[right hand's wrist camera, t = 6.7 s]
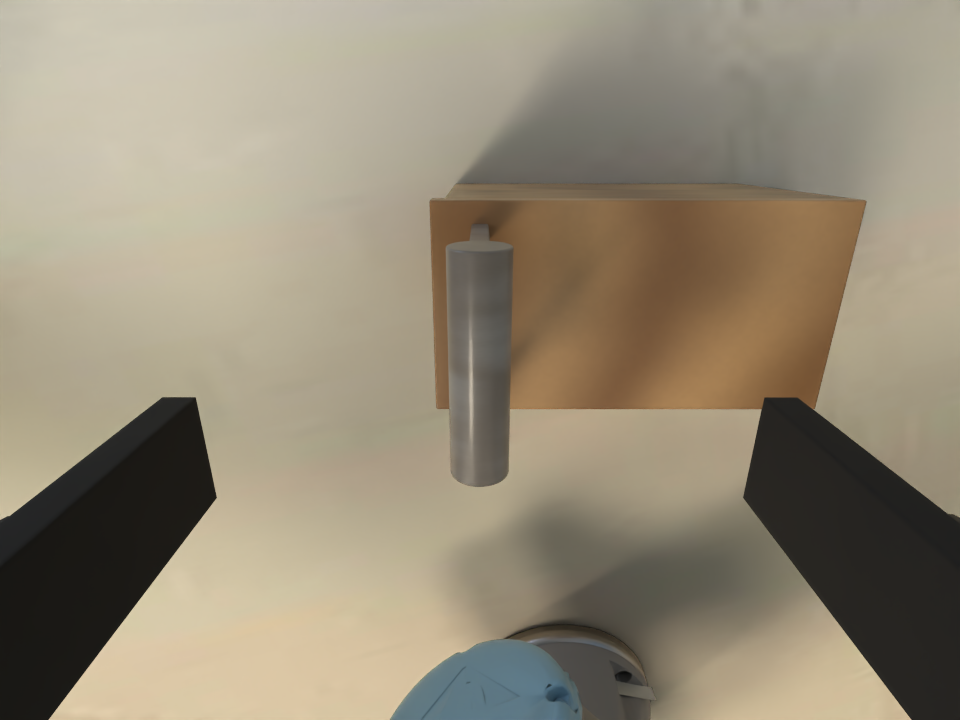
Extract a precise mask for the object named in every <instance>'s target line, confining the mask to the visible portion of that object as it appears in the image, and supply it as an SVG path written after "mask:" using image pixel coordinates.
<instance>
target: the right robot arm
mask: <svg viewBox="0 0 960 720" xmlns="http://www.w3.org/2000/svg"><path fill="white" fill-rule="evenodd" d="M216 498H217V497H216V492H215V487H214V482H213V478H212V473H211V468H210V463H209V459H208V454H207V449H206V444H205V440H204V435H203V430H202V425H201V421H200V416H199V411H198V406H197V402H196V397H162V398H161V399H160V400H158V401H157V402H156V403H155V404H153V405H152V406H151V407H149V408H148V409H147V410H146V411H144V412H143V413H142V414H140V415H139V416H138V417H137V418H135V419H134V420H133V421H131V422H130V423H129V424H128V425H126V426H125V427H124V428H122V429H121V430H120V431H119V432H117V433H116V434H115V435H113V436H112V437H111V438H110V439H108V440H107V441H106V442H104V443H103V444H102V445H101V446H99V447H98V448H97V449H95V450H94V451H93V452H92V453H90V454H89V455H88V456H86V457H85V458H84V459H83V460H81V461H80V462H79V463H77V464H76V465H75V466H74V467H72V468H71V469H70V470H68V471H67V472H66V473H65V474H63V475H62V476H61V477H59V478H58V479H57V480H56V481H54V482H53V483H52V484H50V485H49V486H48V487H47V488H45V489H44V490H43V491H41V492H40V493H39V494H38V495H36V496H35V497H34V498H32V499H31V500H30V501H29V502H27V503H26V504H25V505H23V506H22V507H21V508H20V509H18V510H17V511H16V512H14V513H13V514H12V515H11V516H7V517H5V518H3V519H1V520H0V720H49V718H50V717H51V716H52V714H53V713H54V712H55V710H56V709H57V708H58V706H59V705H60V704H61V702H62V701H63V700H64V699H65V697H66V696H67V695H68V693H69V692H70V691H71V689H72V688H73V687H74V685H75V684H76V683H77V681H78V680H79V679H80V677H81V676H82V675H83V673H84V672H85V671H86V669H87V668H88V667H89V666H90V664H91V663H92V662H93V660H94V659H95V658H96V656H97V655H98V654H99V652H100V651H101V650H102V648H103V647H104V646H105V644H106V643H107V642H108V640H109V639H110V638H111V637H112V635H113V634H114V633H115V631H116V630H117V629H118V627H119V626H120V625H121V623H122V622H123V621H124V619H125V618H126V617H127V615H128V614H129V613H130V611H131V610H132V609H133V608H134V606H135V605H136V604H137V602H138V601H139V600H140V598H141V597H142V596H143V594H144V593H145V592H146V590H147V589H148V588H149V586H150V585H151V584H152V582H153V581H154V580H155V579H156V577H157V576H158V575H159V573H160V572H161V571H162V569H163V568H164V567H165V565H166V564H167V563H168V561H169V560H170V559H171V557H172V556H173V555H174V553H175V552H176V551H177V549H178V548H179V547H180V546H181V544H182V543H183V542H184V540H185V539H186V538H187V536H188V535H189V534H190V532H191V531H192V530H193V528H194V527H195V526H196V524H197V523H198V522H199V520H200V519H201V518H202V517H203V515H204V514H205V513H206V511H207V510H208V509H209V507H210V506H211V505H212V503H213V502H214V501H215V499H216ZM743 498H744V499H745V501H746V502H747V503H748V505H749V506H750V507H751V509H752V510H753V511H754V513H755V514H756V515H757V517H758V518H759V519H760V520H761V522H762V523H763V524H764V526H765V527H766V528H767V530H768V531H769V532H770V534H771V535H772V536H773V538H774V539H775V540H776V542H777V543H778V544H779V546H780V547H781V548H782V549H783V551H784V552H785V553H786V555H787V556H788V557H789V559H790V560H791V561H792V563H793V564H794V565H795V567H796V568H797V569H798V571H799V572H800V573H801V575H802V576H803V577H804V579H805V580H806V581H807V582H808V584H809V585H810V586H811V588H812V589H813V590H814V592H815V593H816V594H817V596H818V597H819V598H820V600H821V601H822V602H823V604H824V605H825V606H826V608H827V609H828V610H829V611H830V613H831V614H832V615H833V617H834V618H835V619H836V621H837V622H838V623H839V625H840V626H841V627H842V629H843V630H844V631H845V633H846V634H847V635H848V637H849V638H850V639H851V640H852V642H853V643H854V644H855V646H856V647H857V648H858V650H859V651H860V652H861V654H862V655H863V656H864V658H865V659H866V660H867V662H868V663H869V664H870V666H871V667H872V668H873V669H874V671H875V672H876V673H877V675H878V676H879V677H880V679H881V680H882V681H883V683H884V684H885V685H886V687H887V688H888V689H889V691H890V692H891V693H892V695H893V696H894V697H895V699H896V700H897V701H898V702H899V704H900V705H901V706H902V708H903V709H904V710H905V712H906V713H907V714H908V716H909V717H910V718H911V720H960V518H959V517H957V516H955V515H953V514H947V513H946V512H944V511H943V510H942V509H940V508H939V507H938V506H937V505H935V504H934V503H933V502H931V501H930V500H929V499H928V498H926V497H925V496H924V495H922V494H921V493H920V492H919V491H917V490H916V489H915V488H913V487H912V486H911V485H910V484H908V483H907V482H906V481H904V480H903V479H902V478H901V477H899V476H898V475H897V474H895V473H894V472H893V471H892V470H890V469H889V468H888V467H886V466H885V465H884V464H883V463H881V462H880V461H879V460H877V459H876V458H875V457H874V456H872V455H871V454H870V453H868V452H867V451H866V450H865V449H863V448H862V447H861V446H859V445H858V444H857V443H856V442H854V441H853V440H852V439H850V438H849V437H848V436H847V435H845V434H844V433H843V432H841V431H840V430H839V429H838V428H836V427H835V426H834V425H832V424H831V423H830V422H829V421H827V420H826V419H825V418H823V417H822V416H821V415H820V414H818V413H817V412H816V411H814V410H813V409H812V408H811V407H809V406H808V405H807V404H805V403H804V402H803V401H802V400H800V399H799V398H798V397H764V402H763V406H762V411H761V416H760V421H759V425H758V430H757V435H756V440H755V444H754V449H753V454H752V459H751V463H750V468H749V473H748V478H747V482H746V487H745V492H744V497H743Z"/></svg>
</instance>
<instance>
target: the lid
mask: <svg viewBox="0 0 960 720" xmlns="http://www.w3.org/2000/svg"><path fill="white" fill-rule="evenodd" d="M865 205H866V201H865V200H859V199H851V198H433V199H431V200H430V230H431V260H432V291H433V322H434V352H435V383H436V408H437V409H449V415H450V458H451V473H452V475H453V477H454V478H455V479H456V480H457V481H459V482H460V483H462V484H465V485H469V486H475V487H484V486H491V485H494V484H497V483H499V482H501V481H502V480H503V479H505V477H506V476H507V474H508V471H509V430H510V409H762V406H763V402H764V397H798V398H799V399H800V400H802V401H803V402H804V403H805V404H807V405H808V406H809V407H811V408H812V409H815V406H816V402H817V398H818V394H819V390H820V386H821V382H822V378H823V374H824V370H825V366H826V362H827V358H828V354H829V350H830V346H831V342H832V338H833V334H834V330H835V326H836V322H837V318H838V314H839V310H840V306H841V302H842V298H843V294H844V290H845V286H846V282H847V278H848V274H849V270H850V266H851V262H852V258H853V254H854V250H855V246H856V242H857V238H858V233H859V229H860V225H861V221H862V217H863V213H864V209H865Z"/></svg>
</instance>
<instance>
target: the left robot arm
mask: <svg viewBox="0 0 960 720" xmlns="http://www.w3.org/2000/svg"><path fill="white" fill-rule="evenodd" d="M650 700H654V701H656V699H655V696H654V693H653V689H652V687H648V684H647V681H646V678H645V675H644V671H643V669H642V666H641V664H640V662H639V660H638V658H637V657H636V655H635V654H634V653H633V652H632V651H631V649H630V648H628V647H627V646H626V645H625V644H624V643H622V642H621V641H620V640H618V639H616V638H615V637H613V636H611V635H609V634H607V633H605V632H602V631H599V630H596V629H592V628H588V627H583V626H576V625H551V626H543V627H538V628H534V629H530V630H527V631H524V632H521V633H519V634H516V635H514V636H512V637H510V638H508V639H499V640H491V641H486V642H482V643H479V644H476V645H475V646H473V647H472V648H470V649H469V650H467V651H465V652H463V653H460V652H459V653H456V654H454V655H452V656H451V657H449V658H448V659H446V660H444V661H443V662H442V663H440V664H439V665H438V666H436V667H435V668H434V669H433V670H431V671H430V672H429V673H428V674H427V675H426V676H425V677H423V678H422V679H421V680H420V681H419V682H418V683H417V685H416V686H415V687H414V688H413V689H412V690H411V691H410V692H409V693H408V695H407V696H406V697H405V698H404V700H403V701H402V702H401V704H400V705H399V706H398V708H397V709H396V711H395V712H394V714H393V716H392V717H391V719H390V720H650V711H651V703H650Z"/></svg>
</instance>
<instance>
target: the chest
mask: <svg viewBox="0 0 960 720" xmlns="http://www.w3.org/2000/svg"><path fill="white" fill-rule="evenodd" d="M446 198H844V197H836V196H829V195H821V194H813V193H805V192H798V191H790V190H782V189H774V188H767V187H759V186H751V185H743V184H455V186H454V187H453V188H452V190H451V191H450V192H449V194H448V195H447V196H446Z"/></svg>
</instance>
